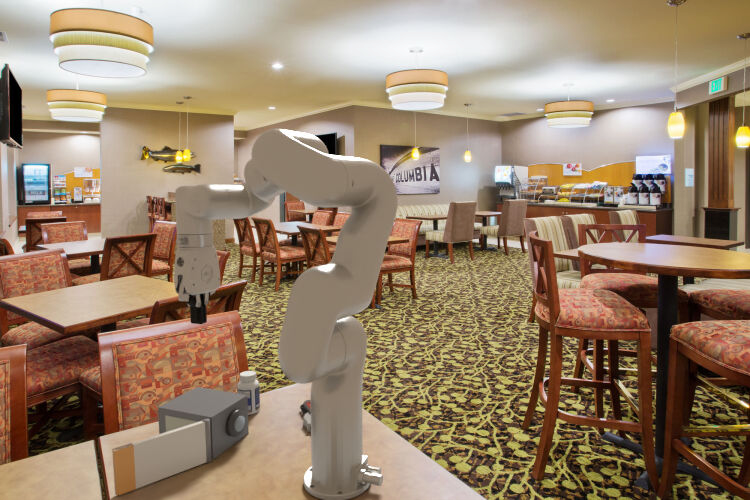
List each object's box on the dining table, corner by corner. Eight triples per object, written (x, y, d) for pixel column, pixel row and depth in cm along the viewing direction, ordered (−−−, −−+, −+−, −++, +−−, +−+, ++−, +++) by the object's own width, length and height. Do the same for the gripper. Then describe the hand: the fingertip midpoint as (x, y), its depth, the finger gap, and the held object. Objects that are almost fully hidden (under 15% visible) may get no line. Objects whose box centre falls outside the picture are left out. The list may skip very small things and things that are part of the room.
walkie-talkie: (292, 413, 122) (320, 449, 104) (291, 396, 121) (319, 429, 104) (325, 406, 126) (357, 440, 108) (325, 389, 125) (357, 421, 108)
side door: (209, 458, 100) (208, 417, 99) (212, 460, 99) (211, 420, 98) (114, 493, 88) (111, 448, 87) (117, 497, 87) (114, 451, 86)
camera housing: (254, 434, 110) (253, 396, 109) (219, 461, 99) (218, 418, 98) (198, 423, 116) (197, 386, 115) (159, 447, 104) (157, 407, 103)
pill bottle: (253, 404, 126) (252, 368, 125) (264, 411, 122) (263, 373, 121) (234, 410, 122) (232, 373, 121) (244, 417, 119) (243, 379, 118)
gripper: (184, 245, 100) (188, 333, 102) (230, 239, 114) (233, 316, 116) (156, 244, 102) (160, 329, 104) (204, 238, 116) (207, 314, 118)
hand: (198, 322), depth 110 cm, fingers closed
